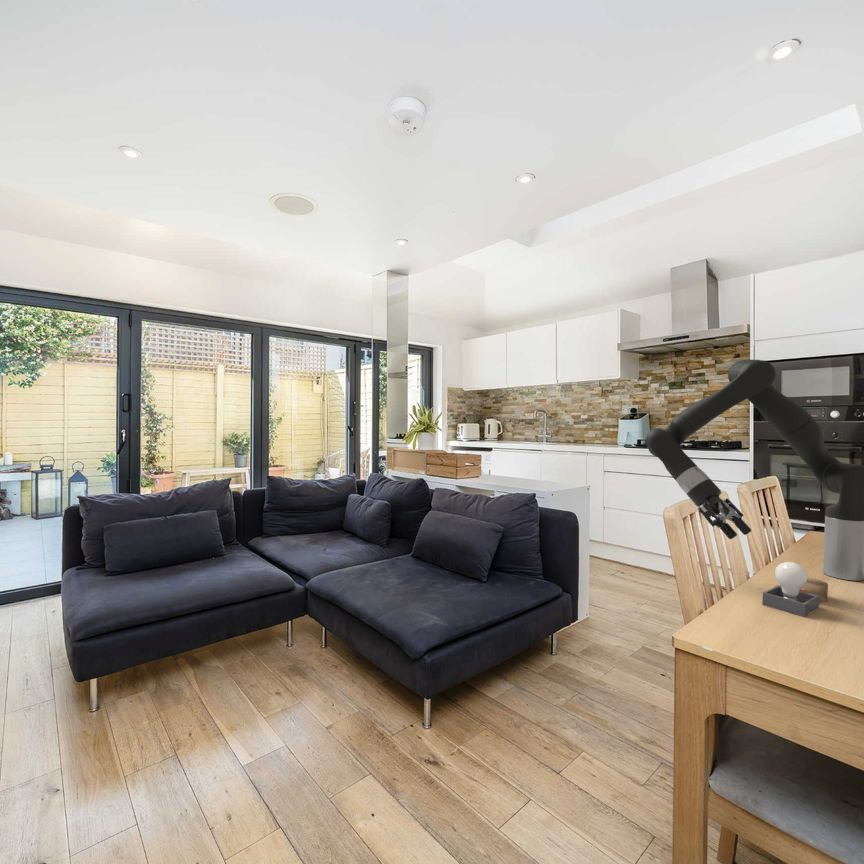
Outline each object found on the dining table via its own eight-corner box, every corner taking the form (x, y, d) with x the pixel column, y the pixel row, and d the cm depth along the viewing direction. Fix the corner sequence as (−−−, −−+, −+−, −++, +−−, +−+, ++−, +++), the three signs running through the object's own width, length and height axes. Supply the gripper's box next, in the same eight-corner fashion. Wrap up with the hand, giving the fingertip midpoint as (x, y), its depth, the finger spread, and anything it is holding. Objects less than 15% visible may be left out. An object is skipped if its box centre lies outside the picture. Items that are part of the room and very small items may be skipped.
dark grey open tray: (777, 596, 123) (778, 582, 122) (818, 607, 116) (819, 592, 115) (762, 604, 117) (762, 589, 117) (804, 617, 110) (805, 600, 110)
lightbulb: (811, 613, 112) (813, 567, 112) (781, 610, 114) (783, 565, 113) (797, 602, 119) (798, 559, 118) (768, 600, 120) (770, 557, 119)
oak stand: (794, 588, 129) (795, 574, 128) (831, 598, 122) (832, 582, 122) (783, 594, 124) (783, 579, 124) (821, 604, 117) (821, 589, 117)
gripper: (695, 479, 127) (740, 530, 118) (720, 476, 135) (764, 523, 126) (675, 496, 132) (717, 546, 123) (700, 492, 140) (741, 539, 131)
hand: (741, 535), depth 125 cm, fingers open, 8 cm apart
